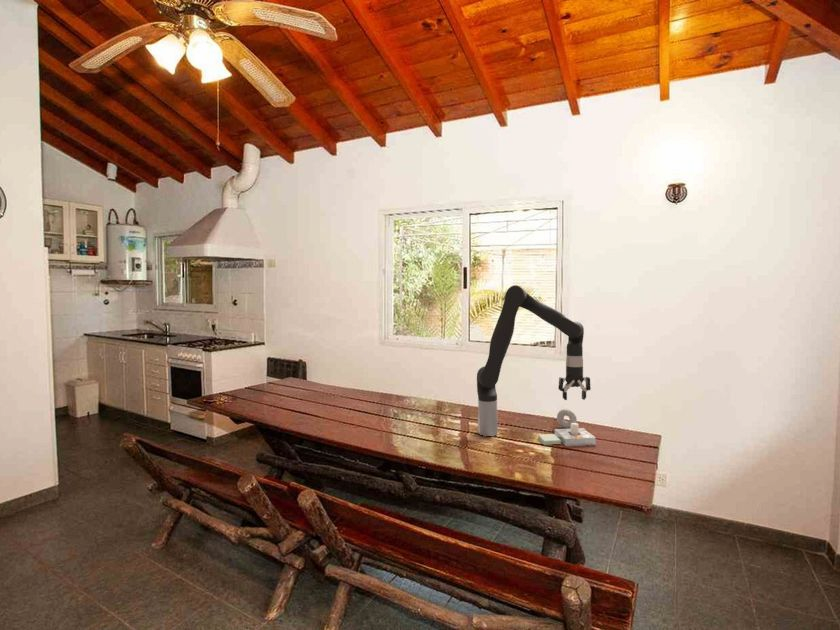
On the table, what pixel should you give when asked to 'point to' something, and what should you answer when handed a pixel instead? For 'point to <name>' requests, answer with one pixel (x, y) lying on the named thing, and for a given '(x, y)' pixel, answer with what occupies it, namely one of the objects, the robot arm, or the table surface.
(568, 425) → the donut
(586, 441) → the flange
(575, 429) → the peg
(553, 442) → the square base plate
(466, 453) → the table surface
